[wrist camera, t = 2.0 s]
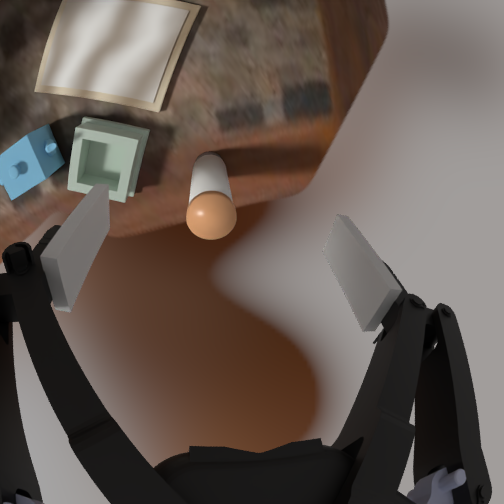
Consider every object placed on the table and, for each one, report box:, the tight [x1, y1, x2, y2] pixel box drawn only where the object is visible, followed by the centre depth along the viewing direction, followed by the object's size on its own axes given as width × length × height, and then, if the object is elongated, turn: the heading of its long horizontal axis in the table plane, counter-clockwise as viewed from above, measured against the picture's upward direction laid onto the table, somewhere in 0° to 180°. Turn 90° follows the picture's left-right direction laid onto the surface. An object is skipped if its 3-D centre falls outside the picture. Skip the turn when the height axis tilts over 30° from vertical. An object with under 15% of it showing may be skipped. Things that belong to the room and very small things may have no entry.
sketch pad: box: [35, 0, 201, 112], centre depth 23 cm, size 18×14×1 cm
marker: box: [186, 152, 237, 240], centre depth 29 cm, size 4×4×14 cm
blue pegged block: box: [0, 124, 65, 200], centre depth 26 cm, size 12×6×8 cm, turn 103°
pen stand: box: [68, 116, 150, 203], centre depth 30 cm, size 9×9×4 cm
